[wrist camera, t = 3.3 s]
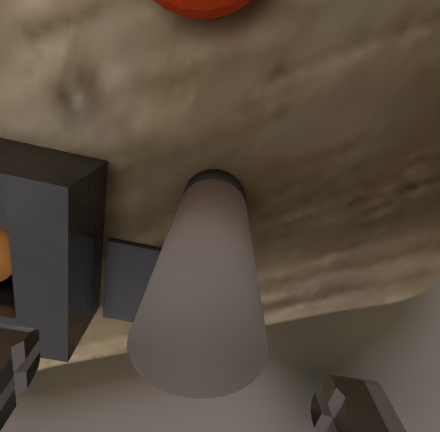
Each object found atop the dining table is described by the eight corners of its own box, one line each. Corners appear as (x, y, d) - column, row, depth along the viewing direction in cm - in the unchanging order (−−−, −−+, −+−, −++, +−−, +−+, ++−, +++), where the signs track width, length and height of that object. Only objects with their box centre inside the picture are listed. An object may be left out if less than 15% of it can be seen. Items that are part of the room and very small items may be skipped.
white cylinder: (251, 176, 19) (286, 312, 8) (236, 231, 20) (248, 407, 9) (189, 163, 18) (134, 283, 7) (179, 219, 20) (121, 386, 9)
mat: (208, 257, 21) (207, 260, 21) (191, 328, 24) (190, 332, 24) (110, 238, 21) (108, 241, 20) (104, 313, 24) (102, 316, 23)
